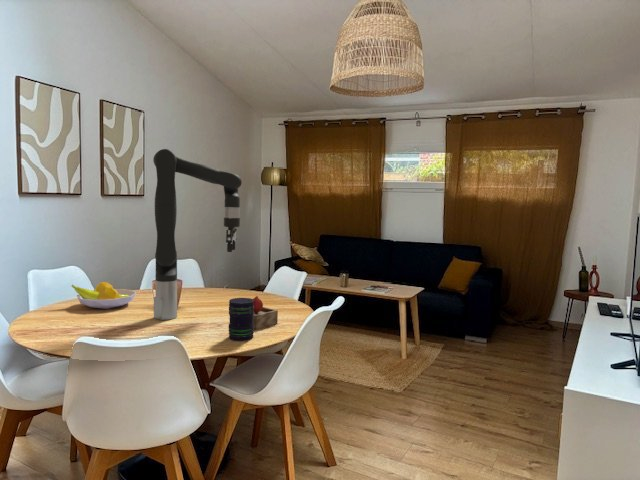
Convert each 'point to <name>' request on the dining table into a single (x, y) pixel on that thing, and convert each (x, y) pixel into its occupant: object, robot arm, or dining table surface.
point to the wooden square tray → (265, 318)
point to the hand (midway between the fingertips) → (231, 250)
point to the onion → (257, 305)
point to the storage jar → (241, 319)
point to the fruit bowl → (104, 296)
